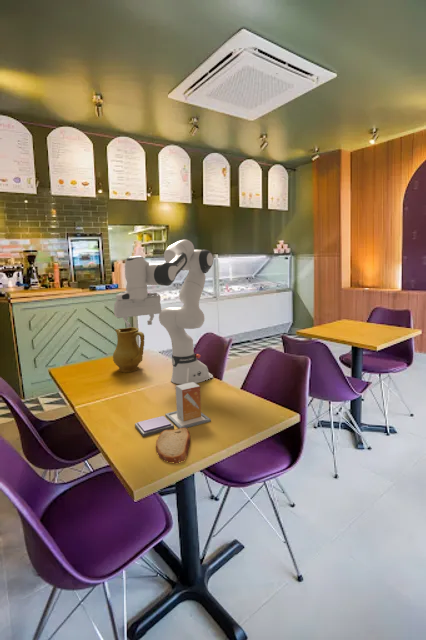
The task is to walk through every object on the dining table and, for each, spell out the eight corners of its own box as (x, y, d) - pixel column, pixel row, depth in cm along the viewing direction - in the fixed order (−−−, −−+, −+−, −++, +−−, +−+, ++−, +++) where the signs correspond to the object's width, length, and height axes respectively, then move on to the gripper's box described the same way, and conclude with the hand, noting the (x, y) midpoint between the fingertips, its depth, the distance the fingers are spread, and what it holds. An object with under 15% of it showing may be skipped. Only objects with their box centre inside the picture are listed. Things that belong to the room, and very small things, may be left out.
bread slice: (176, 467, 109) (175, 456, 108) (138, 450, 120) (137, 439, 119) (213, 443, 122) (212, 433, 122) (176, 429, 134) (175, 420, 133)
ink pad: (164, 418, 142) (163, 414, 142) (174, 428, 134) (173, 424, 134) (135, 426, 137) (134, 422, 136) (143, 436, 128) (143, 432, 128)
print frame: (193, 408, 152) (193, 406, 151) (210, 421, 139) (210, 419, 139) (165, 415, 145) (165, 413, 145) (180, 429, 132) (180, 427, 132)
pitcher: (133, 362, 225) (131, 324, 220) (150, 369, 212) (147, 329, 206) (108, 369, 214) (105, 329, 208) (124, 377, 200) (120, 334, 195)
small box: (183, 422, 138) (181, 390, 136) (176, 416, 144) (175, 385, 142) (201, 416, 142) (200, 385, 140) (194, 411, 148) (193, 381, 146)
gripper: (157, 292, 160) (159, 322, 162) (111, 295, 150) (114, 327, 152) (162, 292, 155) (164, 324, 157) (115, 296, 145) (118, 329, 147)
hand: (139, 325), depth 155 cm, fingers open, 8 cm apart
